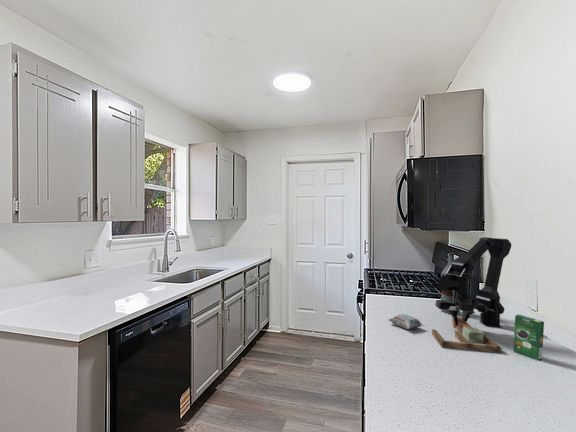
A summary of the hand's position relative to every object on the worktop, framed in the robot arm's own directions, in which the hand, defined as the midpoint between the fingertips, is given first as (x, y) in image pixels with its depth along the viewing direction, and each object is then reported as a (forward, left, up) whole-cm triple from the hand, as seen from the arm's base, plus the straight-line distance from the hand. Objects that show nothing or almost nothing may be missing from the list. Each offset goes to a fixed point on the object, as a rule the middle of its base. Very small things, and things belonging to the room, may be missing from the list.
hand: (460, 326), depth 134 cm
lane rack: (+4, +17, -1) cm, 17 cm away
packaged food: (+24, +4, -2) cm, 24 cm away
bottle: (-4, -26, -1) cm, 26 cm away
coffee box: (-14, +23, -1) cm, 27 cm away
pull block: (0, +6, -1) cm, 6 cm away
